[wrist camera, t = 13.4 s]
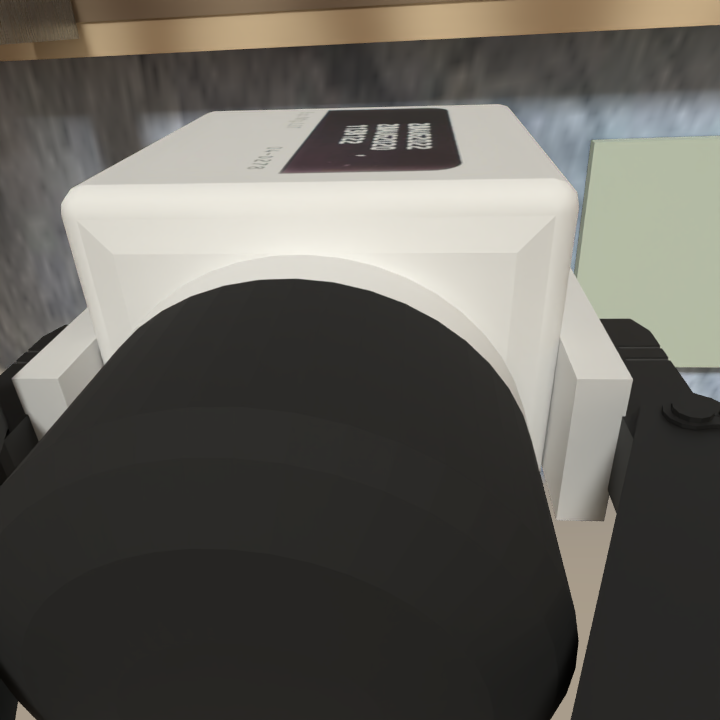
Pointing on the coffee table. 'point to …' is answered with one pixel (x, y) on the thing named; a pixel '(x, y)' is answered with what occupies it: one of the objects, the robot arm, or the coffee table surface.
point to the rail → (339, 23)
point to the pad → (655, 241)
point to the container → (304, 430)
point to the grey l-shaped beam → (36, 21)
